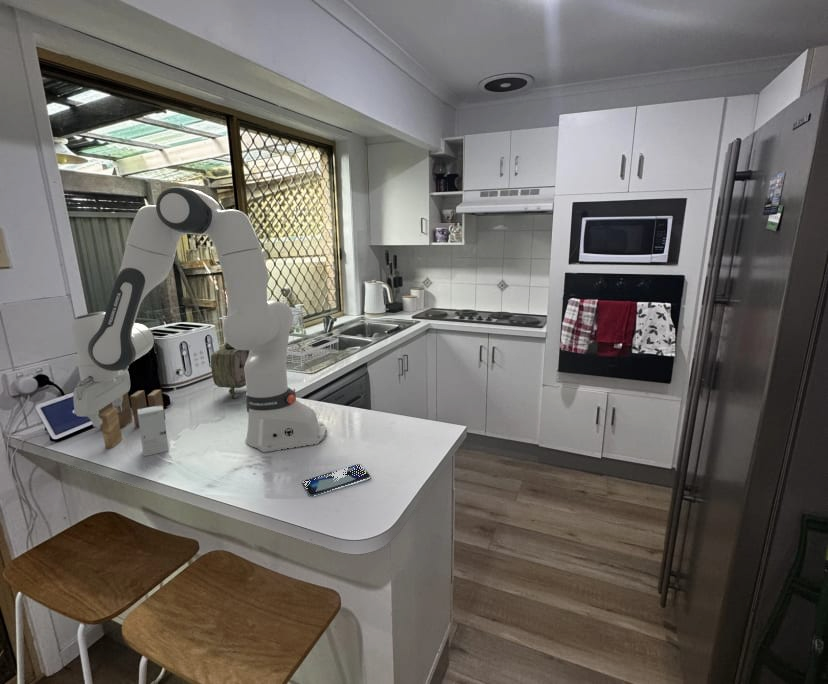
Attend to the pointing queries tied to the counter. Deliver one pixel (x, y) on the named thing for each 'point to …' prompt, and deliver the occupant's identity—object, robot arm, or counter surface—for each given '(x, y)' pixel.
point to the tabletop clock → (229, 367)
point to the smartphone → (328, 483)
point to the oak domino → (110, 427)
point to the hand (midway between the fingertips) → (108, 418)
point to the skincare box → (152, 430)
